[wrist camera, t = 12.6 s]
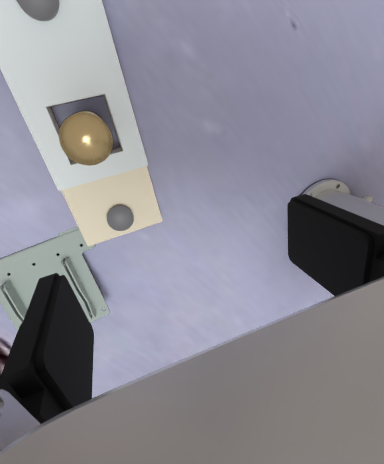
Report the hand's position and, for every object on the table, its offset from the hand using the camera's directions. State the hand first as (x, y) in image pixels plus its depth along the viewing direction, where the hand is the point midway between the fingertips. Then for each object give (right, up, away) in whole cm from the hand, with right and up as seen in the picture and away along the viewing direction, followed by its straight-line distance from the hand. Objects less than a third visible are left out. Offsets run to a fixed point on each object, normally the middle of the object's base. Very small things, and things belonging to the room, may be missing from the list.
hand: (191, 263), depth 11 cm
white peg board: (-11, +13, +18) cm, 25 cm away
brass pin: (-11, +13, +18) cm, 25 cm away
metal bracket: (-19, -6, +25) cm, 32 cm away
